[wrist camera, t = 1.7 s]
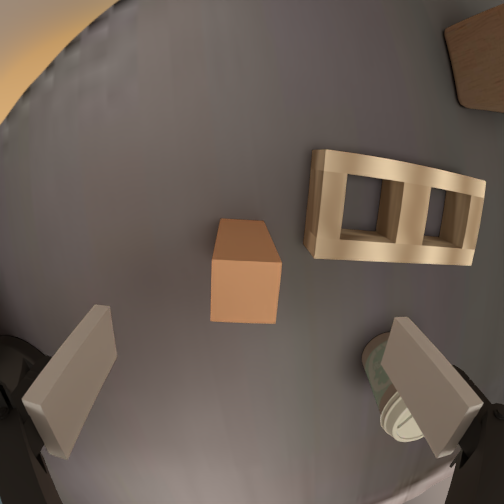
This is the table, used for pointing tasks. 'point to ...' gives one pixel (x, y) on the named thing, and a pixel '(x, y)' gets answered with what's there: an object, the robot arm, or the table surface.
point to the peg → (244, 273)
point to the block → (479, 59)
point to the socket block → (391, 212)
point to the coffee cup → (388, 394)
